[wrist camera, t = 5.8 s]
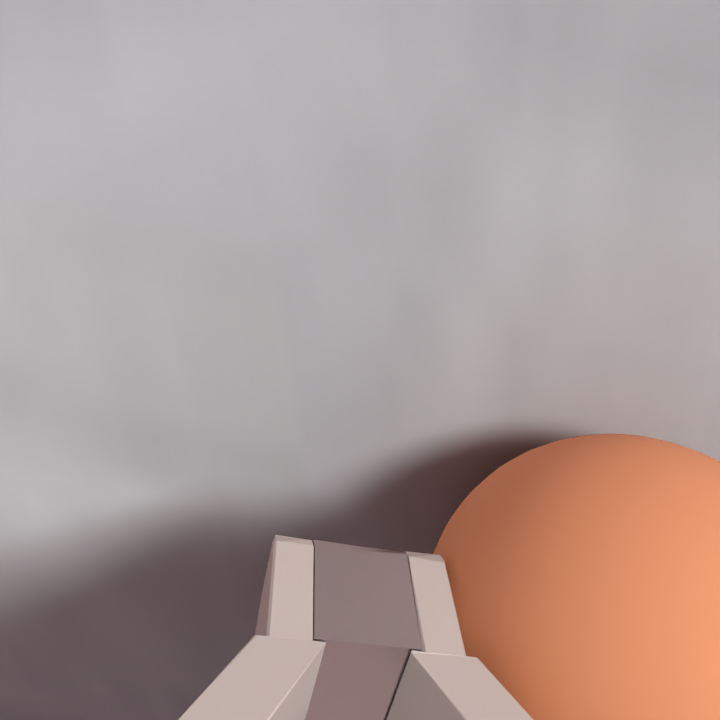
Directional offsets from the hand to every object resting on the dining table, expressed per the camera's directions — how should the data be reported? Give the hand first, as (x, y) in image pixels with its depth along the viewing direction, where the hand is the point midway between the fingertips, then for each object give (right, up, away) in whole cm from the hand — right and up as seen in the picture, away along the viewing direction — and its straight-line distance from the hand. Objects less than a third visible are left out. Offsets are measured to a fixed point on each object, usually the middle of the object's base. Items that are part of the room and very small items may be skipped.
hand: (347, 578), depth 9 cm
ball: (+4, -1, 0) cm, 4 cm away
